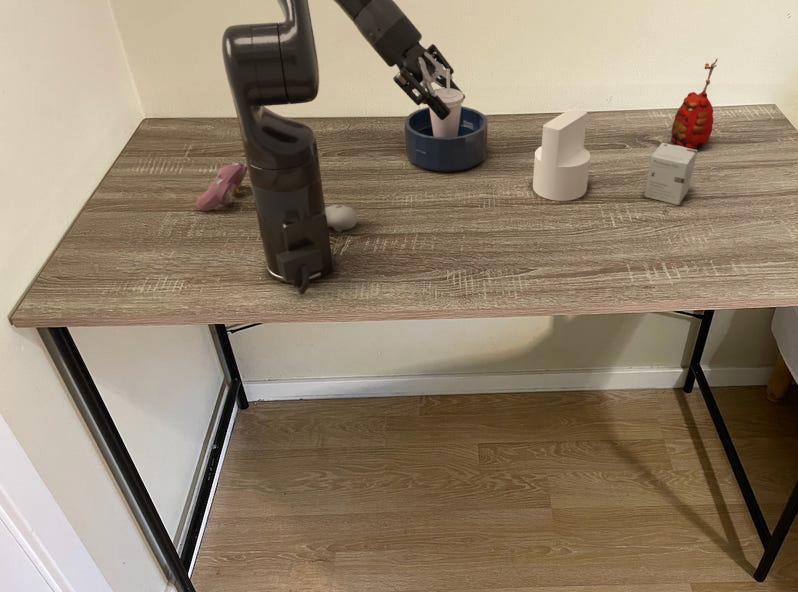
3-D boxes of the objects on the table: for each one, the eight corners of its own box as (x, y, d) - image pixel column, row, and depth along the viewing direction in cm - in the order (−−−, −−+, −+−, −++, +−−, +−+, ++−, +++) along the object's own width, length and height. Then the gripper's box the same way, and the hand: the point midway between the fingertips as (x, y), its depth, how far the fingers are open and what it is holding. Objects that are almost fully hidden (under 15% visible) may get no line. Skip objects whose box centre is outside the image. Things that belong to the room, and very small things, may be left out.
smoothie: (463, 156, 134) (463, 76, 125) (426, 155, 134) (424, 76, 125) (464, 140, 139) (464, 62, 130) (428, 140, 139) (426, 62, 130)
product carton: (643, 197, 125) (650, 155, 121) (654, 182, 130) (661, 141, 125) (679, 206, 123) (688, 163, 119) (689, 190, 127) (698, 148, 123)
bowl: (502, 160, 136) (504, 125, 132) (436, 182, 130) (435, 146, 125) (456, 132, 145) (456, 99, 141) (391, 152, 139) (389, 117, 134)
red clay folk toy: (661, 138, 143) (675, 57, 133) (692, 132, 145) (708, 51, 135) (687, 155, 137) (703, 71, 128) (718, 147, 140) (737, 64, 130)
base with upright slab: (568, 206, 123) (575, 135, 115) (522, 190, 127) (526, 121, 120) (596, 185, 129) (604, 116, 121) (551, 170, 133) (556, 103, 125)
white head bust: (360, 228, 120) (354, 235, 116) (309, 226, 121) (302, 233, 116) (359, 200, 119) (354, 207, 114) (308, 198, 119) (301, 205, 114)
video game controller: (219, 223, 122) (229, 189, 118) (192, 209, 122) (202, 175, 117) (244, 194, 130) (255, 161, 125) (220, 180, 129) (230, 147, 124)
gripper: (382, 27, 119) (453, 112, 124) (418, 2, 129) (482, 81, 134) (355, 58, 124) (424, 138, 128) (391, 31, 134) (454, 106, 139)
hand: (454, 108), depth 131 cm, fingers closed on smoothie, 6 cm apart
